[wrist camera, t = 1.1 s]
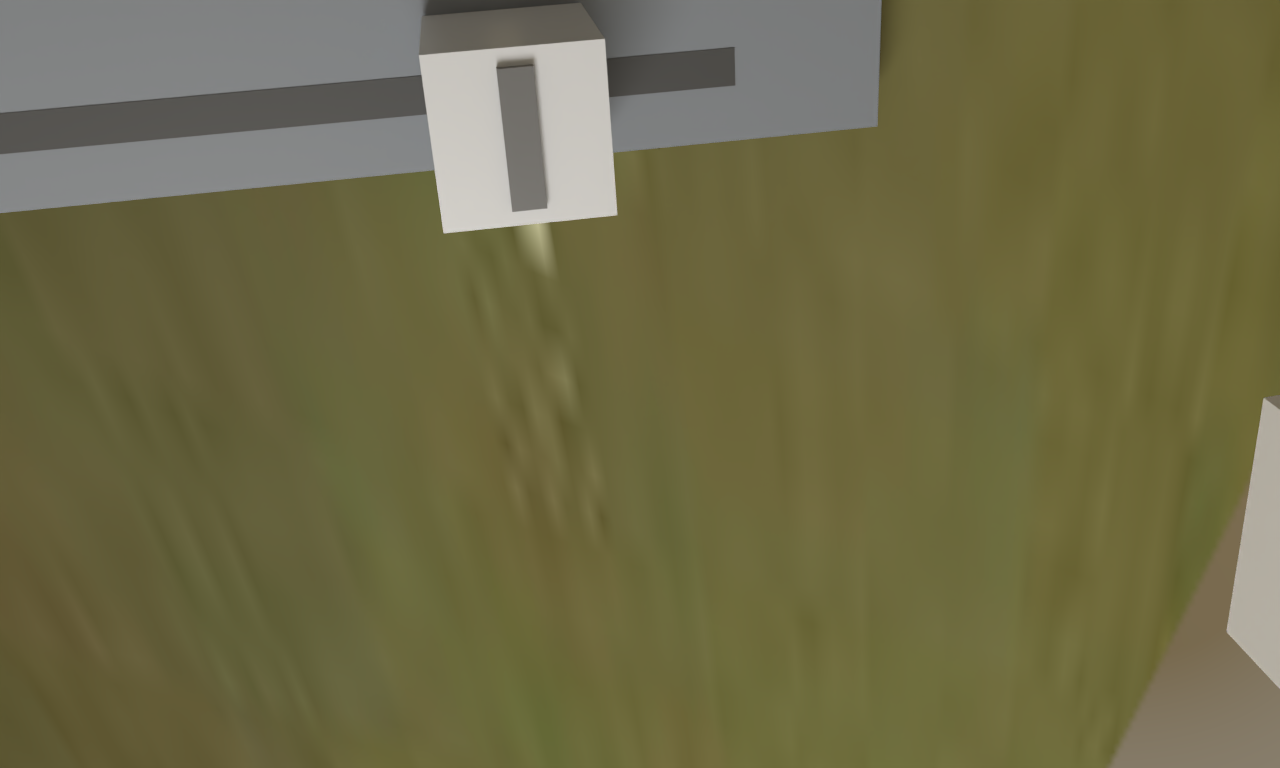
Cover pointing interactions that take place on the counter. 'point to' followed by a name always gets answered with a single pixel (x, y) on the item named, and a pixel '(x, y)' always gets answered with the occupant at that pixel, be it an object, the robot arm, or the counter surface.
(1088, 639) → the counter surface
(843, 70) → the console
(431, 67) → the fader
